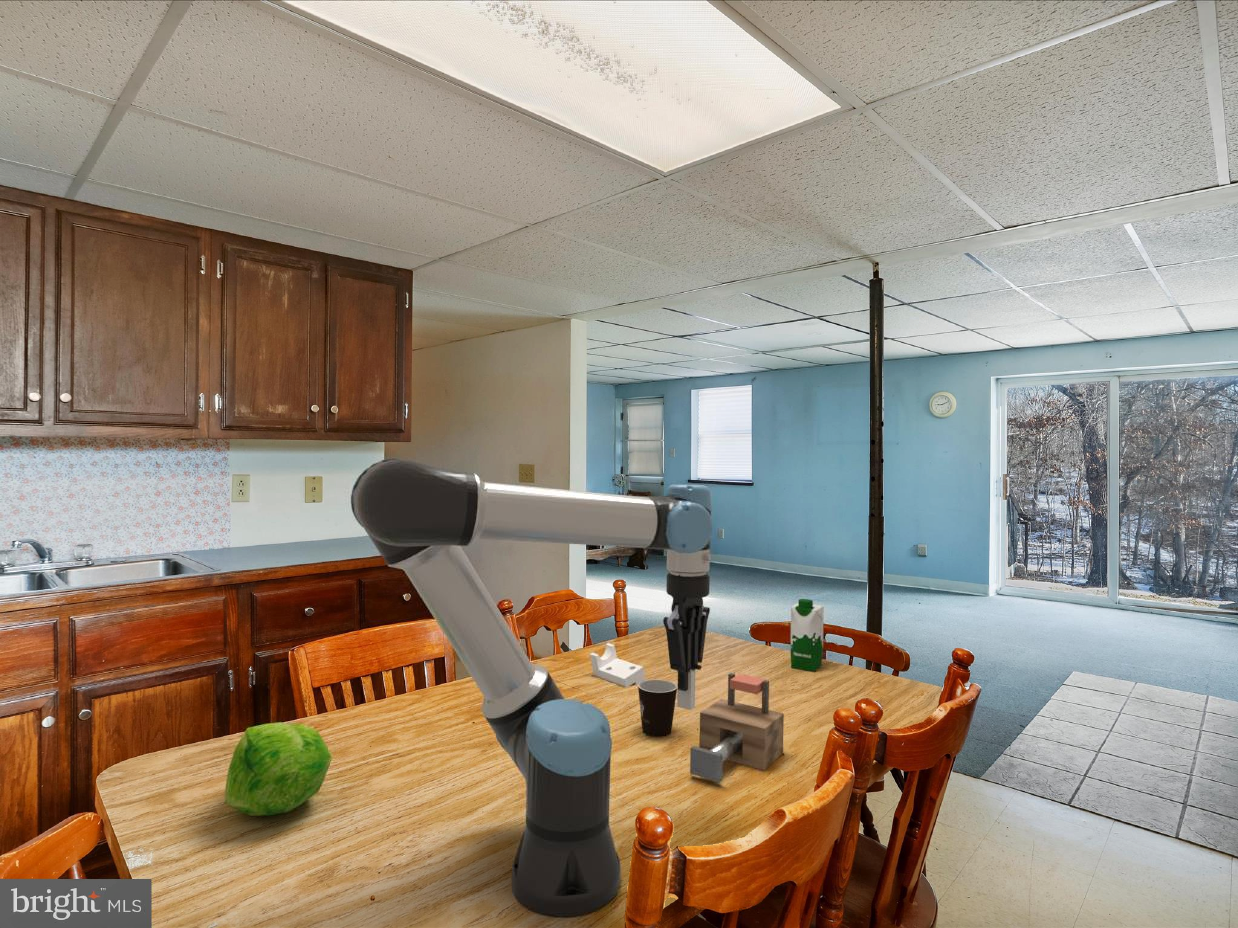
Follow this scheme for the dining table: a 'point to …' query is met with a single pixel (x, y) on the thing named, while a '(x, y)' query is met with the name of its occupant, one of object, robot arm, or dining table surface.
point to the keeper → (747, 683)
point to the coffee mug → (657, 706)
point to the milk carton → (806, 635)
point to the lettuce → (276, 768)
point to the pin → (714, 757)
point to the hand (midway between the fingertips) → (686, 706)
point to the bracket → (616, 668)
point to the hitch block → (744, 728)
